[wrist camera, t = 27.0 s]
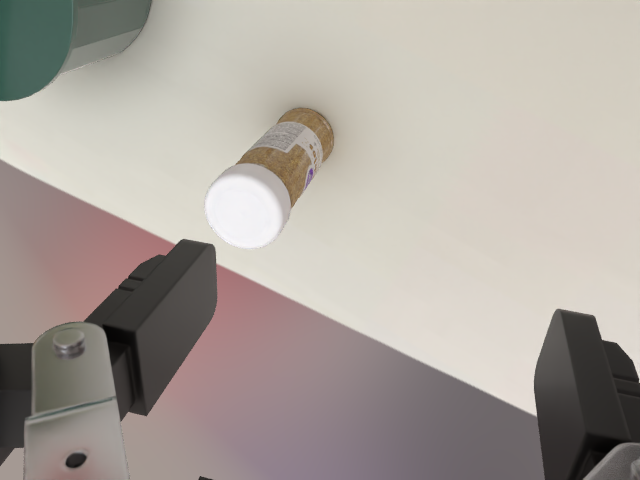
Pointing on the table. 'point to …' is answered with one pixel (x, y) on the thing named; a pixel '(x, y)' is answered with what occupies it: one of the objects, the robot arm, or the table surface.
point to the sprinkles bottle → (268, 180)
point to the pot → (105, 29)
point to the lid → (34, 44)
